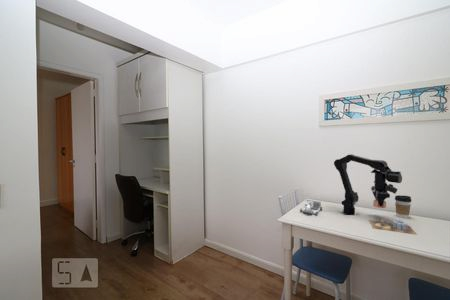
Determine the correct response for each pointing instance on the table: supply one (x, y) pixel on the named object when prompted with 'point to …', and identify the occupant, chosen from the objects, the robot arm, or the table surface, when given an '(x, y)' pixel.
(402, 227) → the gear
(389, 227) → the gear board
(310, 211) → the phone holder
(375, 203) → the gear
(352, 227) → the table surface
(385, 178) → the robot arm
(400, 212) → the coffee cup
